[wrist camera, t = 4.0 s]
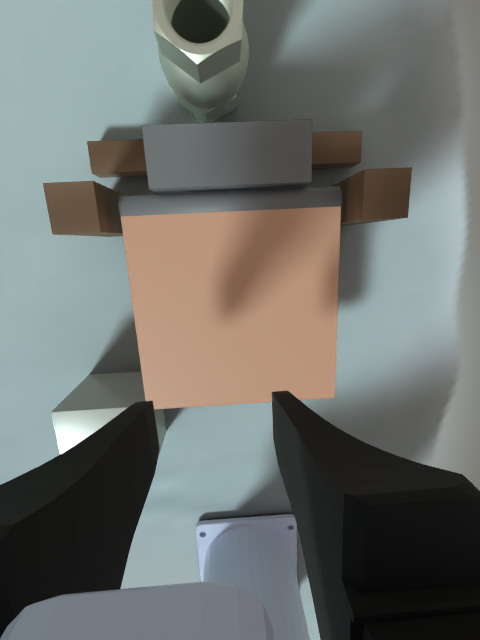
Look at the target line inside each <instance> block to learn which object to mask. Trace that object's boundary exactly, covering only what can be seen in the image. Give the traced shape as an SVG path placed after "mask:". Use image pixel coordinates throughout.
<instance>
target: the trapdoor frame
mask: <svg viewBox="0 0 480 640" xmlns="http://www.w3.org/2000/svg"><path fill="white" fill-rule="evenodd" d="M361 141H362V131H344V132H318V133H312V169H314V168H338V167H353V166H355V165H356V164H358V163H360V162H361ZM87 144H88V151H89V157H90V164H91V170H92V174H94V175H96V176H98V177H100V178H101V177H125V176H147V168H146V159H145V150H144V141H143V139H138V140H112V141H87ZM411 171H412V167H410V168H387V169H365V170H363V171H361V172H359V173H357V174H355V175H353V176H351V177H349V178H347V179H345V180H343V181H341V182H340V183H338V184H336V185H334V186H339V187H340V188H341V191H342V203H341V220H340V225H354V224H362V223H370V222H377V221H385V220H393V219H400V218H408V208H409V196H410V184H411ZM43 186H44V192H45V197H46V202H47V208H48V213H49V218H50V223H51V229H52V234H56V235H82V236H108V237H110V236H123V231H122V223H121V216H120V213H119V206H118V201H119V197H120V196H125V195H123V194H121V193H118V192H116V191H114V190H112V189H110V188H107V187H105V186H103V185H101V184H99V183H96V182H94V181H81V182H57V183H43ZM334 186H332V187H334Z"/></svg>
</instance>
